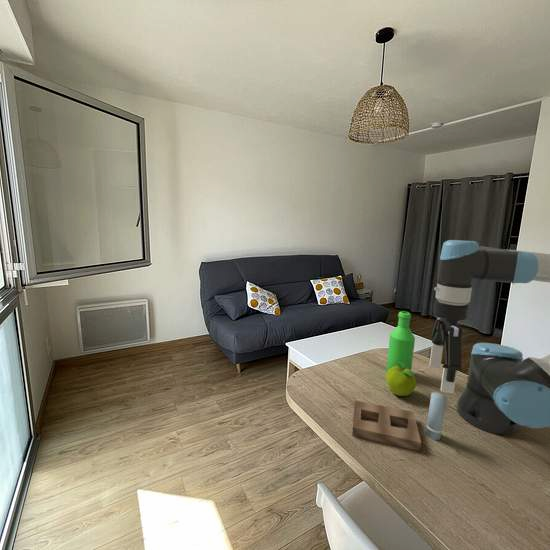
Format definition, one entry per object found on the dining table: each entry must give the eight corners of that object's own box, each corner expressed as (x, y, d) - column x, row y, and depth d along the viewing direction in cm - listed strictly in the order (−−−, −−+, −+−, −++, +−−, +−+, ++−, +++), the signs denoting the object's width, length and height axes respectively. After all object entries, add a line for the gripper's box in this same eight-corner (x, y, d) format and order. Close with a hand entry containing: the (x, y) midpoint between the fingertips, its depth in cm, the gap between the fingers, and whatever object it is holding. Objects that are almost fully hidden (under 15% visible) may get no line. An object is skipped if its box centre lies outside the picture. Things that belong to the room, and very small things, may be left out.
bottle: (381, 369, 116) (387, 309, 112) (399, 367, 119) (405, 308, 115) (396, 381, 108) (403, 317, 104) (415, 378, 111) (423, 315, 106)
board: (412, 419, 87) (413, 411, 87) (420, 451, 75) (421, 442, 75) (354, 407, 92) (354, 400, 92) (352, 435, 80) (352, 427, 80)
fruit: (406, 386, 105) (409, 360, 104) (418, 401, 96) (422, 373, 94) (381, 385, 105) (383, 359, 104) (390, 400, 96) (393, 373, 94)
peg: (439, 432, 82) (444, 393, 80) (442, 441, 79) (448, 401, 76) (424, 429, 83) (429, 391, 81) (427, 438, 80) (432, 398, 78)
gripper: (425, 289, 87) (417, 355, 91) (447, 313, 63) (434, 402, 67) (454, 292, 85) (444, 360, 88) (487, 318, 61) (472, 409, 65)
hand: (440, 378), depth 78 cm, fingers open, 13 cm apart
